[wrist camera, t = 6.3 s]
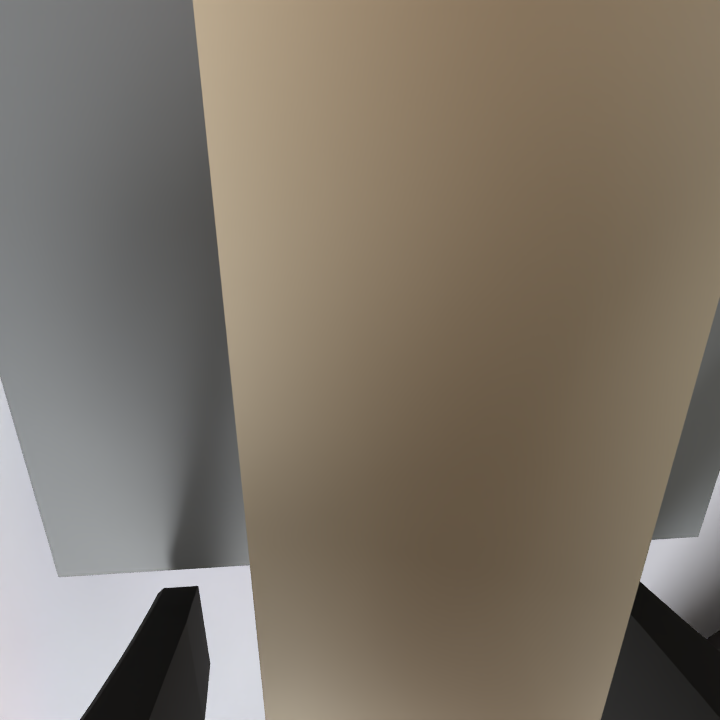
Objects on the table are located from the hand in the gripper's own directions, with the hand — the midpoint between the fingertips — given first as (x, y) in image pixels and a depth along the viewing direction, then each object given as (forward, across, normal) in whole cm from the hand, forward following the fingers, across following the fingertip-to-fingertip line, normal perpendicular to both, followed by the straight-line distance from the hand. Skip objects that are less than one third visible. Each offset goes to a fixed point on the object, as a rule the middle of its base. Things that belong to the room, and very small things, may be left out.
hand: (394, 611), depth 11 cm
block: (0, 0, -5) cm, 5 cm away
